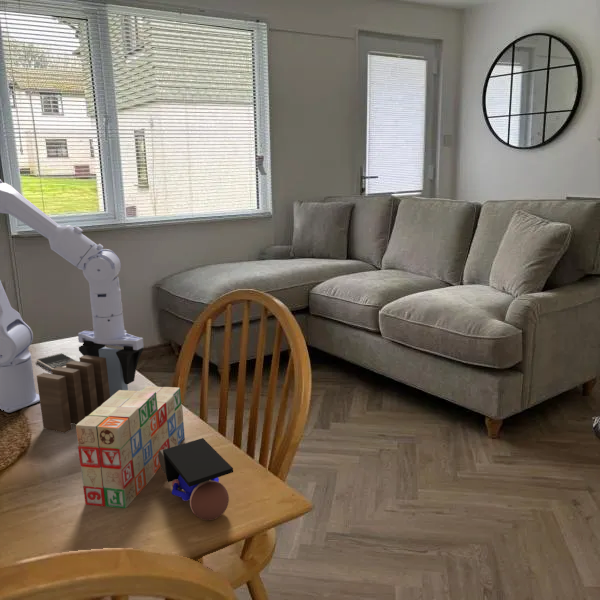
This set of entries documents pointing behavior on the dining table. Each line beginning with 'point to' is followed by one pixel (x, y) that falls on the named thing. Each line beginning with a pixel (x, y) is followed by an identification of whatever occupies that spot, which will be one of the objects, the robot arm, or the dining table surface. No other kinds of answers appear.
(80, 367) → the domino
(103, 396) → the domino
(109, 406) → the stack of blocks
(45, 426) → the domino
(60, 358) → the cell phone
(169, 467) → the figurine character
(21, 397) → the robot arm
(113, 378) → the domino
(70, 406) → the domino
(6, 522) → the dining table surface
